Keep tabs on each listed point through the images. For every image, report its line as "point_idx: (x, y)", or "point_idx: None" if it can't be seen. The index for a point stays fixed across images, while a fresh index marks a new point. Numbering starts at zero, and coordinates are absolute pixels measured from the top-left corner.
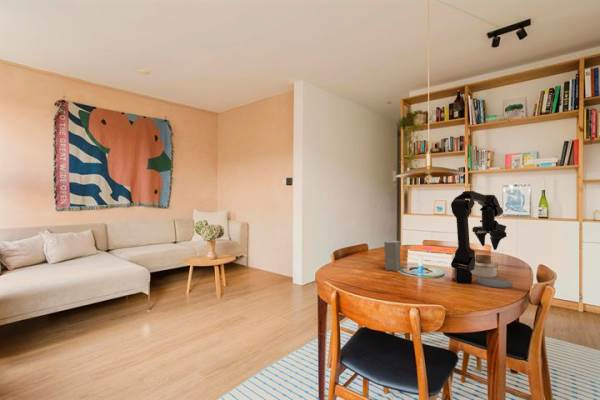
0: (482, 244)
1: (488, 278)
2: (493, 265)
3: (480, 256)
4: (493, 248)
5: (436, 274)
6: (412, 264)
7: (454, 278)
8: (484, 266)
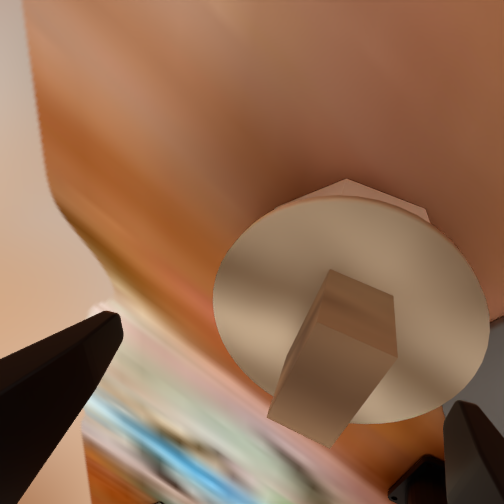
0: (106, 359)
1: (498, 371)
2: (475, 338)
3: (341, 427)
4: (448, 456)
5: (277, 476)
6: (91, 425)
7: (392, 495)
8: (436, 399)
